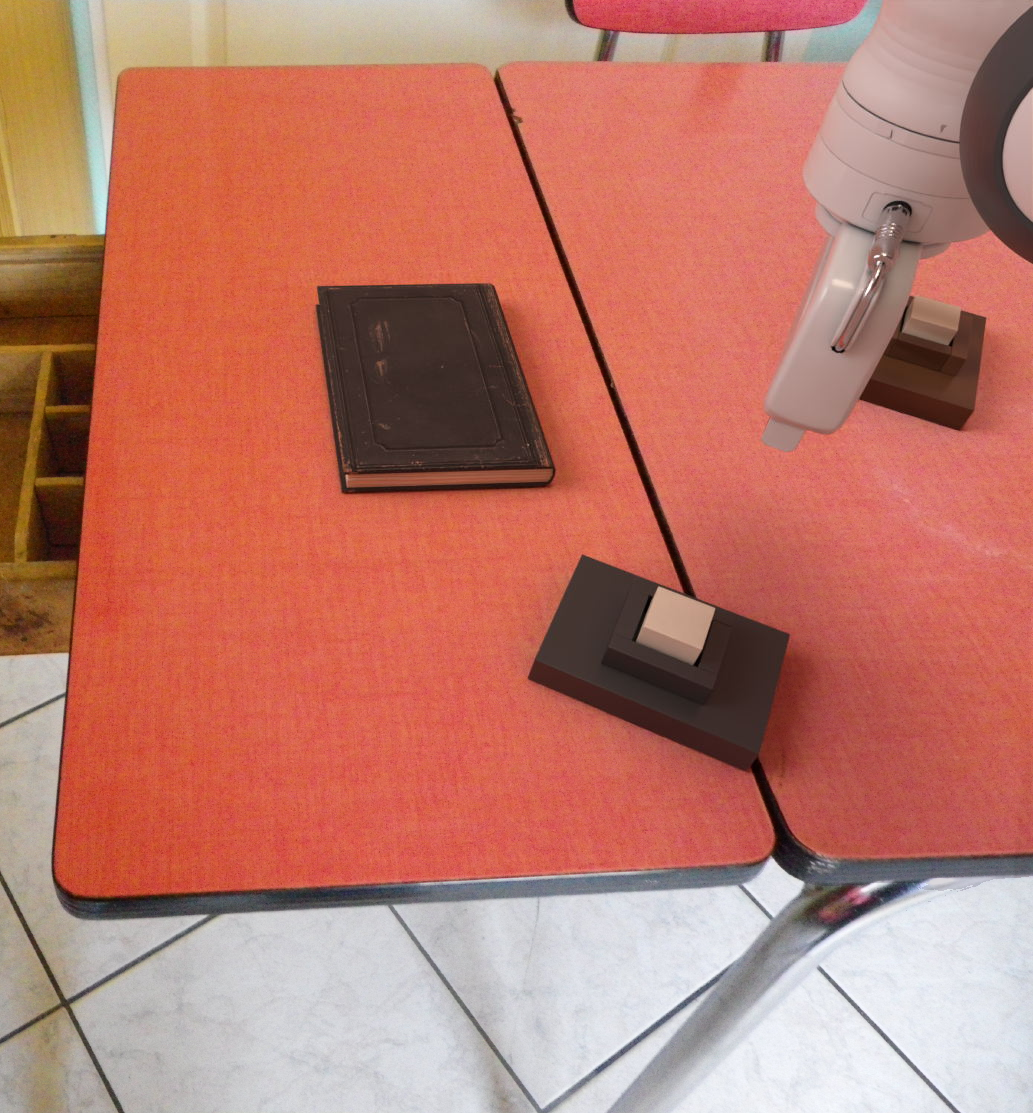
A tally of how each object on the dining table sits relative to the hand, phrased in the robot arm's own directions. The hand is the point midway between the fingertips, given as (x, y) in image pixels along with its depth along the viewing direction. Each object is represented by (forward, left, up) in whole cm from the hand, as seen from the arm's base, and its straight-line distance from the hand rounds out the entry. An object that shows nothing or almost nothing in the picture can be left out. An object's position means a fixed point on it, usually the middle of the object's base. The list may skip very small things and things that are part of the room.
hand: (795, 391), depth 57 cm
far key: (-10, -34, -14) cm, 39 cm away
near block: (+1, +8, -18) cm, 20 cm away
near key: (+1, +8, -14) cm, 16 cm away
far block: (-10, -34, -18) cm, 40 cm away
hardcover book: (+25, -10, -18) cm, 32 cm away
